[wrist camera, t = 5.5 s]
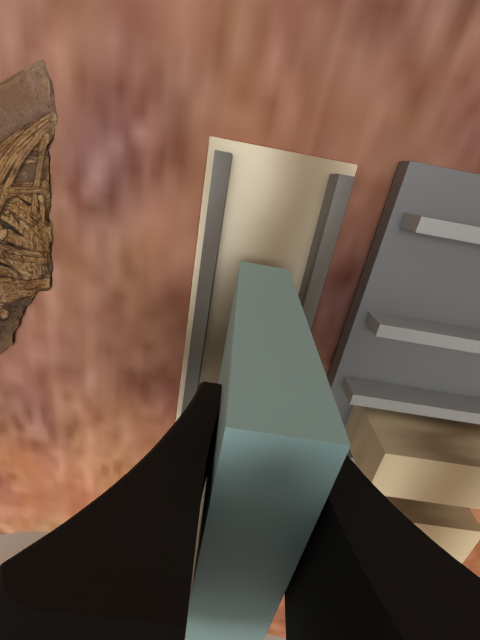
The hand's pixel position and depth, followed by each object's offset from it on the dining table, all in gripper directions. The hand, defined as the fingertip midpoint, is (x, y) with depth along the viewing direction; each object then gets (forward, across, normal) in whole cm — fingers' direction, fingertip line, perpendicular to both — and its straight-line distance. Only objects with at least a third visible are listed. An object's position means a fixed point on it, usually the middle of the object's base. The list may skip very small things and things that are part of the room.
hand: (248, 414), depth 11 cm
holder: (+7, 0, 0) cm, 7 cm away
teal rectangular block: (+5, 0, 0) cm, 5 cm away
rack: (+7, -10, +1) cm, 12 cm away
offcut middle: (+6, -10, +4) cm, 13 cm away
